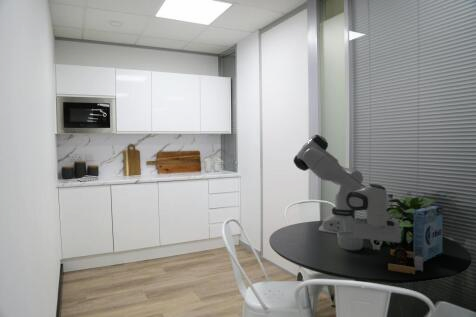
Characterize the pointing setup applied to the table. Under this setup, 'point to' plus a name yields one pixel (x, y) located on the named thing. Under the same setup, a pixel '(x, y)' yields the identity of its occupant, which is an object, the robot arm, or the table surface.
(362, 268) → the table surface
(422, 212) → the light blue carton box
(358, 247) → the ramekin
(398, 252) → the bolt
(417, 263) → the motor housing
